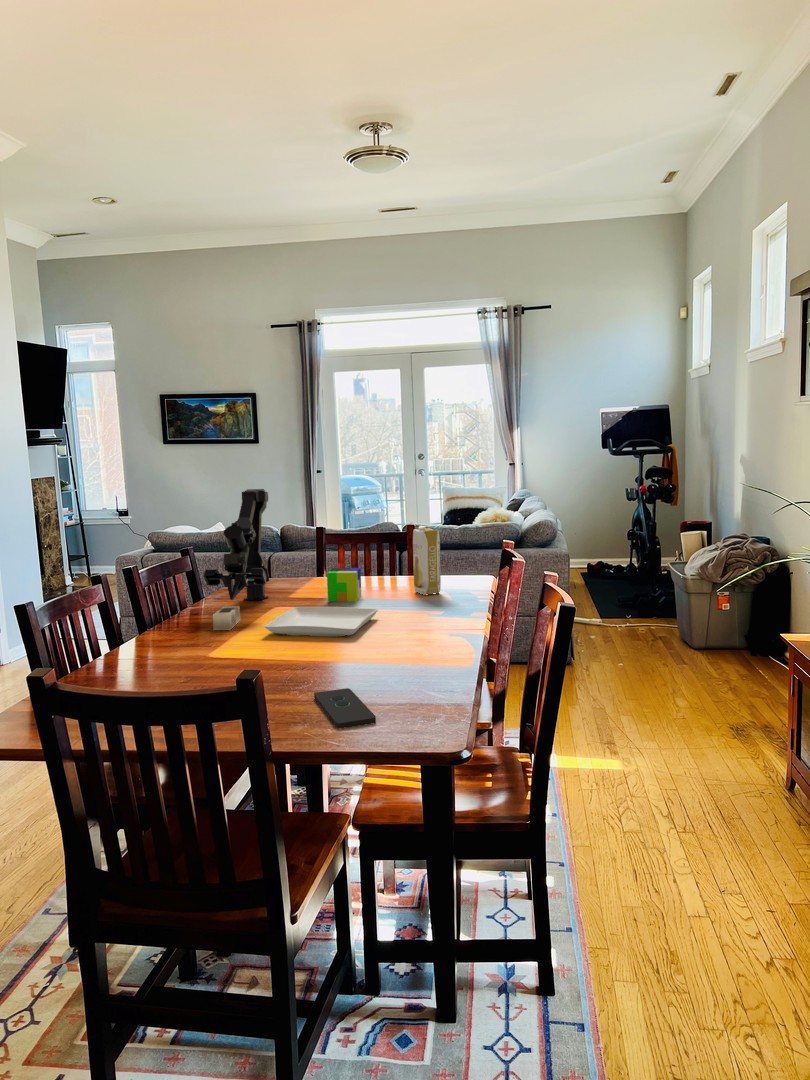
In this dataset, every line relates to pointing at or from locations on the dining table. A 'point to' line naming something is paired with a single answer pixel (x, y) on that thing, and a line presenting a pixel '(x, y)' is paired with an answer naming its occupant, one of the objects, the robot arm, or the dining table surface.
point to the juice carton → (426, 560)
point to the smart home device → (344, 708)
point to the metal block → (226, 618)
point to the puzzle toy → (344, 584)
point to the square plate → (321, 621)
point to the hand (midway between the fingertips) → (231, 599)
